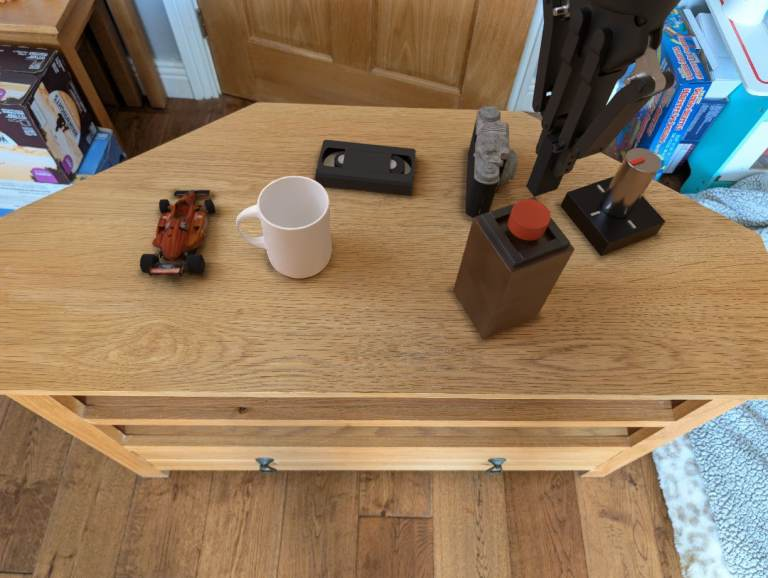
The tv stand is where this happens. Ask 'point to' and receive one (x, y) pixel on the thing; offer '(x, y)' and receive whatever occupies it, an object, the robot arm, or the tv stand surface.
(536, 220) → the press knob
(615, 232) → the dial panel
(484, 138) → the camera
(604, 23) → the robot arm
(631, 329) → the tv stand surface
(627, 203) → the dial
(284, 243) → the mug
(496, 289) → the pillar
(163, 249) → the toy car
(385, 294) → the tv stand surface
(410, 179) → the vhs tape
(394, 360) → the tv stand surface
